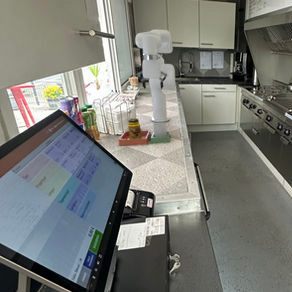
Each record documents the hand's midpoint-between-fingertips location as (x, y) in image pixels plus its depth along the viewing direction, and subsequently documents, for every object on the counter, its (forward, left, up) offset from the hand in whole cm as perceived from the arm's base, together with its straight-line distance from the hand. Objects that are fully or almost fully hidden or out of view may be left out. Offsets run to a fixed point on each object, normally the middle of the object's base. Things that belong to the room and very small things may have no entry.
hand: (153, 88), depth 142 cm
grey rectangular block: (+15, +4, -28) cm, 31 cm away
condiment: (+14, -11, -28) cm, 33 cm away
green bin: (+15, +4, -28) cm, 32 cm away
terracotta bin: (+14, -10, -28) cm, 33 cm away
